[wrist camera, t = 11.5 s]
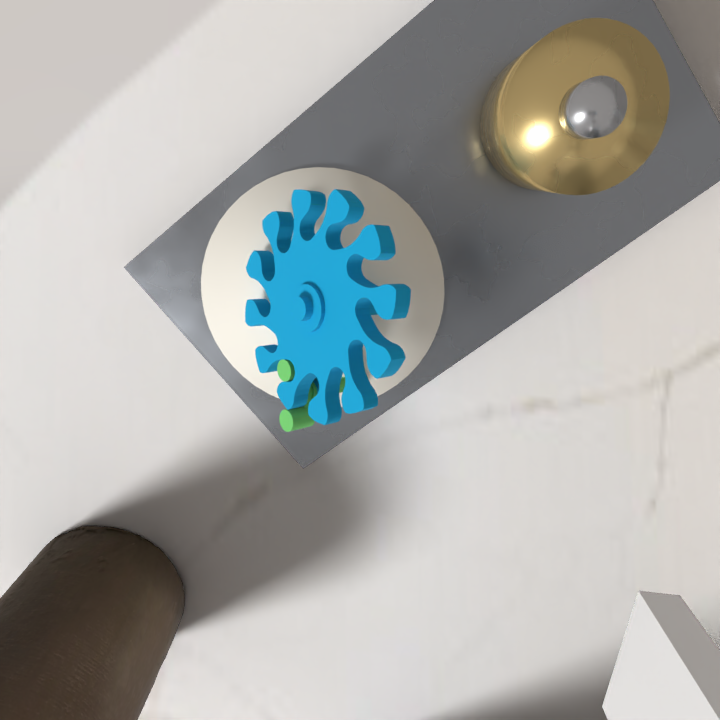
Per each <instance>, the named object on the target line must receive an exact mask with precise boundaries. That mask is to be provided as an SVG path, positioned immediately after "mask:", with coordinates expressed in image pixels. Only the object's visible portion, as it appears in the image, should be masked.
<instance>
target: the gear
mask: <svg viewBox="0 0 720 720" xmlns="http://www.w3.org/2000/svg"><path fill="white" fill-rule="evenodd" d="M291 204H292V209H293V215H294V218H293V215H292V213H291V212H283V211H273V212H271V213H269V214H268V215H267V216H266V217H265V218H264V219H263V220H262V227H263V231H264V233H265V235H266V236H267V238H268V240H269V242H270V244H271V247H272V250H273V254H274V255H273V254H272V253H271V252H270V251H259V250H254V251H253V252H252V254H251V255H250V257H249V260H248V263H247V266H246V271H247V273H248V275H249V276H250V277H251V278H253V279H255V280H257V281H258V282H259V283H260V284H261V285H262V287H263V288H264V290H265V292H266V294H267V296H268V298H269V301H270V303H269V301H268V300H267V299H248V300H247V302H246V308H245V322H246V324H247V325H248V326H263V325H264V326H266V327H268V328H269V329H270V330H271V331H272V332H274V334H275V335H276V337H277V341H278V345H275V344H273V345H265V346H258V347H257V348H256V349H255V355H256V361H257V365H258V368H259V371H260V373H268V372H275V371H277V372H278V375H279V378H280V379H281V380H282V381H284V382H281V383H280V384H279V385H278V387H277V394H278V396H279V398H280V400H281V402H282V403H283V405H284V406H285V407H286V408H287V409H285V410H282V411H281V413H280V416H279V420H280V425H281V427H282V428H283V430H284V431H286V432H290V431H294V430H298V429H302V428H306V427H310V426H312V425H313V424H314V422H315V421H316V422H318V423H320V424H323V425H328V424H332V423H336V422H339V421H340V419H341V416H342V408H341V404H340V397H339V393H341V392H343V393H342V398H341V401H342V407H343V409H344V411H345V413H348V414H352V413H357V412H361V411H365V410H369V409H372V408H374V407H376V406H378V397H377V393H376V391H375V389H374V388H373V387H372V385H371V383H370V381H369V380H368V377H367V375H366V371H365V367H364V361H363V344H364V346H365V349H366V358H367V366H368V369H369V371H370V373H371V374H372V376H373V377H375V378H376V379H379V378H384V377H389V376H392V375H394V374H395V373H396V372H397V371H398V370H399V369H400V367H401V366H402V364H403V362H404V360H405V358H406V356H405V353H404V351H403V349H402V348H401V347H400V346H399V345H397V344H395V343H392V342H391V341H389V340H387V339H386V338H385V337H384V336H383V335H382V334H381V333H380V331H379V330H378V328H377V326H376V325H375V323H374V321H373V319H372V317H371V315H379V316H380V317H381V318H382V319H385V320H391V319H401V318H406V316H407V314H408V311H409V307H410V298H411V289H410V288H409V287H408V286H407V285H405V284H384V285H381V286H377V285H375V284H373V283H372V282H370V281H369V280H367V279H366V278H365V277H364V276H363V273H362V268H361V266H362V261H363V259H364V258H365V259H367V260H389V259H391V258H392V257H393V256H394V255H395V254H396V250H395V242H394V238H393V235H392V232H391V229H390V227H389V226H386V225H372V224H371V225H367V226H366V227H364V228H363V230H362V231H361V233H360V235H359V236H358V238H357V239H356V240H355V241H354V242H353V243H352V244H351V245H349V246H347V247H346V248H343V246H342V244H341V239H340V237H341V232H342V230H343V228H344V227H345V226H346V225H350V224H354V223H357V222H358V221H359V220H360V219H361V217H362V216H363V213H364V206H363V204H362V202H361V201H360V199H359V198H358V197H357V196H356V195H355V194H353V193H352V192H351V191H347V190H339V189H334V190H333V191H332V192H331V193H330V195H329V197H328V201H327V209H326V213H325V217H324V220H323V223H322V225H321V227H320V228H319V230H318V231H317V233H316V234H315V231H314V228H315V223H316V221H317V220H318V218H319V217H320V216H321V215H322V213H323V212H324V209H325V206H326V196H325V194H323V193H322V192H319V191H310V190H301V189H298V190H294V191H293V193H292V198H291ZM292 234H293V236H292ZM291 239H292V241H291ZM343 373H344V375H345V377H342V375H343Z"/></svg>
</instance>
